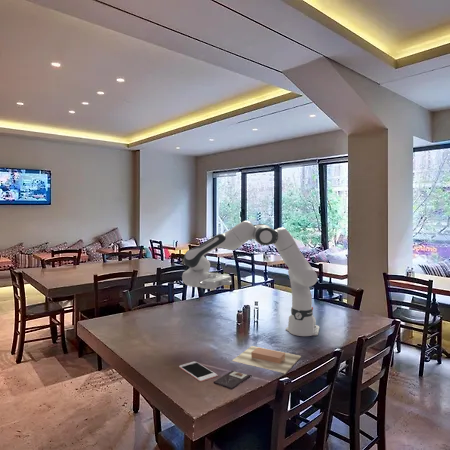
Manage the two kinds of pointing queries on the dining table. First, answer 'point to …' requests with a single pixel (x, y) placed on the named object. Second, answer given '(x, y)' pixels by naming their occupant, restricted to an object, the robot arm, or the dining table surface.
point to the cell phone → (198, 371)
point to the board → (282, 367)
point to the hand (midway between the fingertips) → (230, 283)
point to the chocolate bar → (232, 379)
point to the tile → (268, 355)
